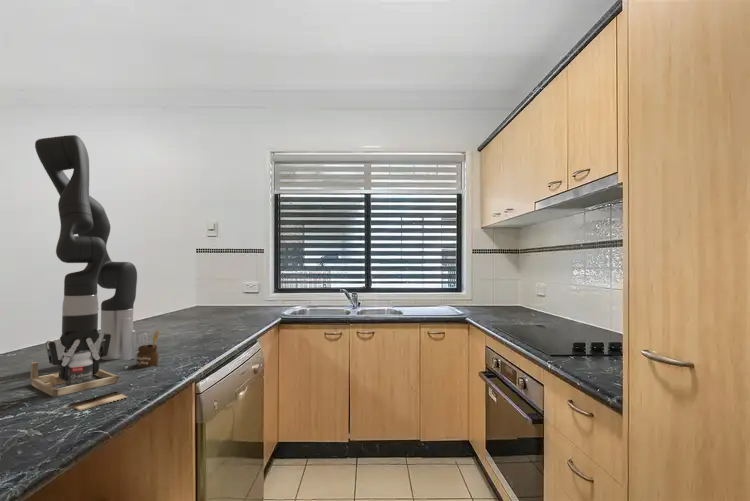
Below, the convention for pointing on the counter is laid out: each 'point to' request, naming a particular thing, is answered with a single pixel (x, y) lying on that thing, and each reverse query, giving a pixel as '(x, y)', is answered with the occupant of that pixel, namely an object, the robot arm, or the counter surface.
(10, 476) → the counter surface
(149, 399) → the counter surface
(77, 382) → the pill bottle
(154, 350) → the utensil holder
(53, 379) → the offcut top
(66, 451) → the counter surface
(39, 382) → the rack
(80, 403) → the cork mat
